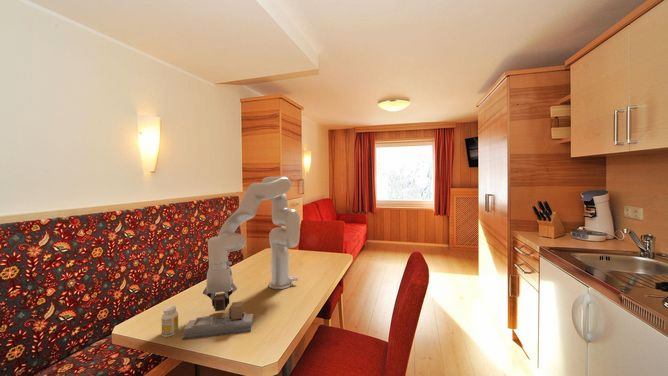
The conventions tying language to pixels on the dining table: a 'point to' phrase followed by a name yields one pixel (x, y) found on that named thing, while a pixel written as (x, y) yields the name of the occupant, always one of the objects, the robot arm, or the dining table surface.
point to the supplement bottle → (169, 321)
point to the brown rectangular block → (220, 302)
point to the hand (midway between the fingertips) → (221, 306)
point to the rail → (220, 324)
